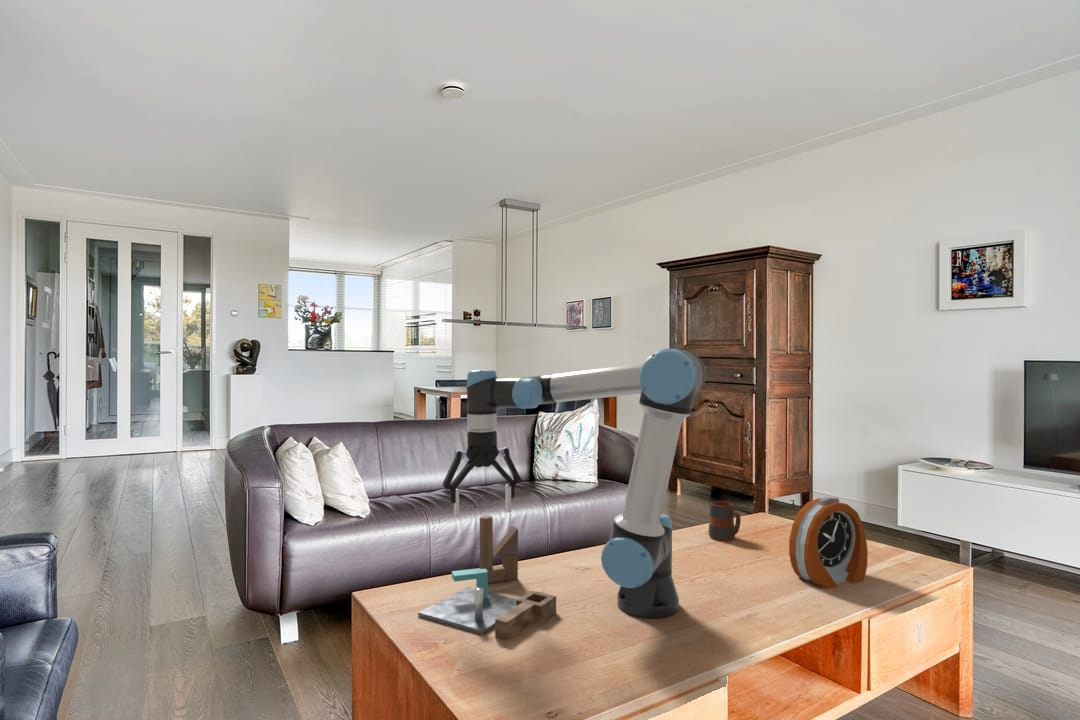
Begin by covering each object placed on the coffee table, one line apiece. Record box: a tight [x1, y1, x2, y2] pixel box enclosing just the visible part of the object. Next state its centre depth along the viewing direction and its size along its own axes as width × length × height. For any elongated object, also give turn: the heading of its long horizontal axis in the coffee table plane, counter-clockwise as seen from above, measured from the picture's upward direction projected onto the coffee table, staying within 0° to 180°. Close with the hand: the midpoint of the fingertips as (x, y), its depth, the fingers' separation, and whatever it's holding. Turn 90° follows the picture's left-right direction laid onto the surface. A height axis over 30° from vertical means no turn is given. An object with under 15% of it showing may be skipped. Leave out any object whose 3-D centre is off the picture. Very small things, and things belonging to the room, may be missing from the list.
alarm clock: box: [788, 496, 868, 590], centre depth 174 cm, size 22×10×23 cm, turn 114°
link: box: [494, 590, 557, 642], centre depth 145 cm, size 18×7×4 cm, turn 149°
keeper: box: [451, 567, 489, 598], centre depth 157 cm, size 4×9×8 cm, turn 109°
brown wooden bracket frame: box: [478, 514, 519, 585], centre depth 172 cm, size 4×11×18 cm, turn 114°
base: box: [417, 586, 518, 636], centre depth 152 cm, size 19×19×8 cm
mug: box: [708, 500, 742, 542], centre depth 212 cm, size 9×12×12 cm
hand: (482, 513), depth 159 cm, fingers open, 13 cm apart
